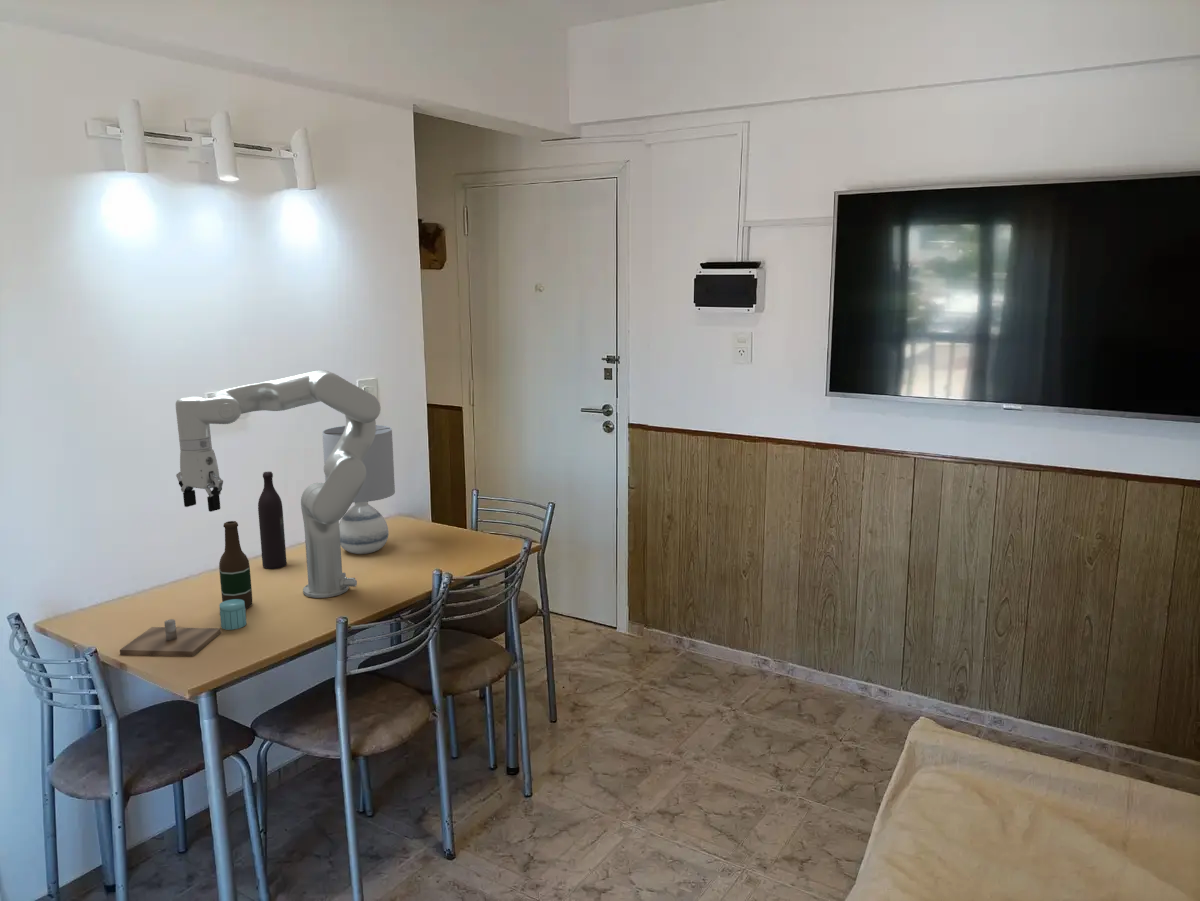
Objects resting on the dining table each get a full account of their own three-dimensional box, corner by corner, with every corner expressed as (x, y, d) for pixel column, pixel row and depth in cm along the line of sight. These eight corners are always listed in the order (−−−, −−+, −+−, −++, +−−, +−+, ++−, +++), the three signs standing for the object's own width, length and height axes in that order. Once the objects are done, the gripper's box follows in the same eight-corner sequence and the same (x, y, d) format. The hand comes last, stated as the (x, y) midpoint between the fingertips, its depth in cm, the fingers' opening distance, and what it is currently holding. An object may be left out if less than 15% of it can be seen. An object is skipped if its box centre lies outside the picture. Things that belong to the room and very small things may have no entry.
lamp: (315, 553, 286) (307, 432, 278) (365, 536, 304) (359, 422, 296) (362, 564, 275) (355, 438, 267) (411, 546, 293) (405, 428, 285)
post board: (221, 632, 223) (219, 611, 222) (193, 656, 209) (191, 633, 208) (152, 631, 224) (149, 609, 223) (120, 654, 210) (117, 631, 209)
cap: (250, 620, 230) (248, 599, 229) (239, 629, 225) (238, 607, 223) (228, 620, 231) (226, 598, 230) (217, 629, 225) (215, 607, 224)
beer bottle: (234, 613, 235) (226, 527, 231) (216, 608, 239) (208, 523, 235) (259, 604, 242) (252, 520, 237) (241, 599, 246) (234, 516, 241)
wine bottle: (287, 567, 272) (280, 473, 266) (262, 570, 270) (255, 475, 264) (286, 561, 279) (279, 469, 273) (262, 563, 276) (255, 471, 270)
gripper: (230, 444, 227) (236, 508, 230) (187, 439, 235) (193, 500, 239) (205, 450, 220) (211, 515, 224) (161, 444, 229) (168, 507, 232)
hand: (202, 508), depth 231 cm, fingers open, 9 cm apart
